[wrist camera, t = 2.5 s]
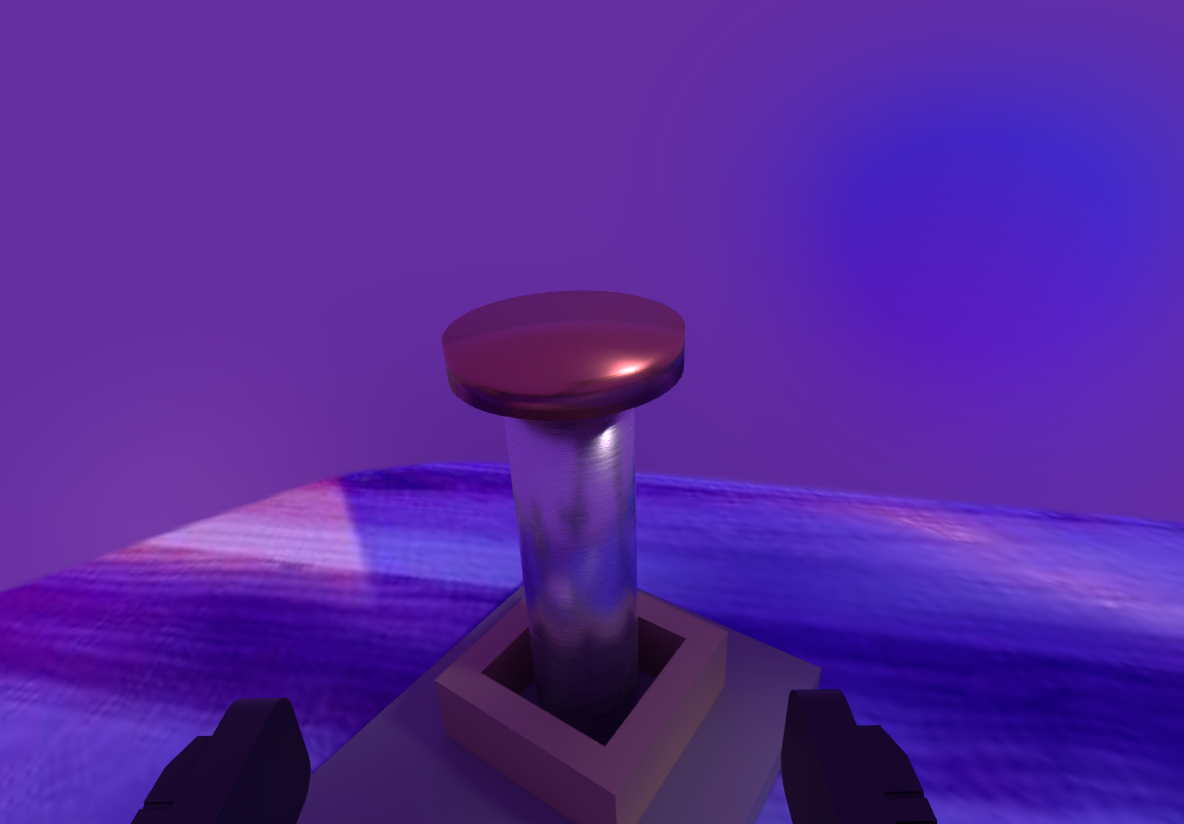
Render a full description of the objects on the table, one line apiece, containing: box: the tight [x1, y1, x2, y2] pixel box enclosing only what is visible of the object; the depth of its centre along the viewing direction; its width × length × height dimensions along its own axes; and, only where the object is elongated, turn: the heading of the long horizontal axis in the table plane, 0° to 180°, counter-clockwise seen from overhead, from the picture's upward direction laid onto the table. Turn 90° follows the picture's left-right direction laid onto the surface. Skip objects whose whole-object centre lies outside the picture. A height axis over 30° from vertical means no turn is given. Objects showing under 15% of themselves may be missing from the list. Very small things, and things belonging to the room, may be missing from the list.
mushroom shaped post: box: [442, 291, 685, 746], centre depth 24 cm, size 7×7×16 cm
